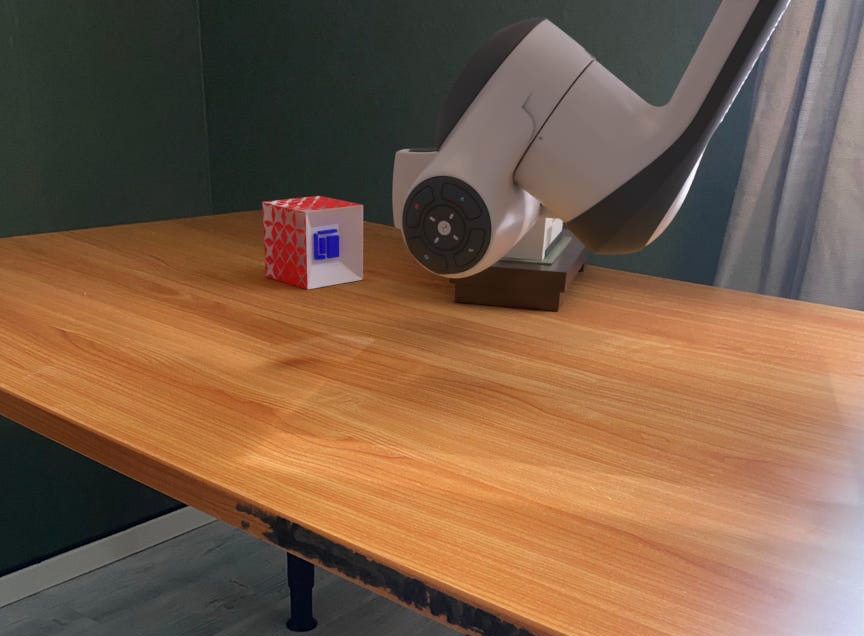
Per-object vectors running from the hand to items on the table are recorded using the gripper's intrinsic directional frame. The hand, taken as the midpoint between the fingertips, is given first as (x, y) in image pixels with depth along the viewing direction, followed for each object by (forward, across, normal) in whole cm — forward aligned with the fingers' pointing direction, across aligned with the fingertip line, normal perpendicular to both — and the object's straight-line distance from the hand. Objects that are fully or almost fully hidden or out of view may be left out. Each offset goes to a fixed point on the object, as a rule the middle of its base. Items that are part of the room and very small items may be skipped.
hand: (519, 175), depth 96 cm
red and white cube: (+6, +24, +13) cm, 28 cm away
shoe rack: (+12, 0, +12) cm, 17 cm away
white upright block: (+11, 0, +8) cm, 14 cm away
